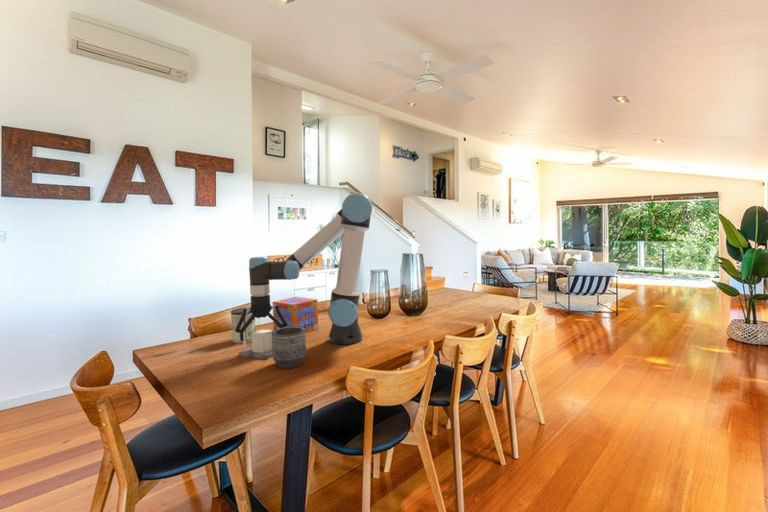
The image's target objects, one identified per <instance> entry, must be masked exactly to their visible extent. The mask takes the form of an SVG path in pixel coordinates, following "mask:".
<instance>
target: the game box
mask: <svg viewBox="0 0 768 512" xmlns="http://www.w3.org/2000/svg"><path fill="white" fill-rule="evenodd" d="M276 304H277V305H278V307H279V311H280V313H281V315H282V316H283V318H284V320H285V321H286V323H287V326H285V327H302V328H304V329H305V334H308V333H310V332H314V331H317V330H319V312H318V311H319V309H318V308H319V307H318V299H317V298H310V297H302V296H294V297H288V298H283V299H280V300H278V299H277V300H274V301H272V306H274V305H276ZM272 316H273V317H274V318H275V319H276V320H277V321H278V322H279V323H280V324H283V323H282V321H281V319H280V318H279V316H278V314H277V313H276V311H274V310H273V309H272ZM272 322H273V331H274V330H276V329H277V328H278V327H279V326H278V325H277V324H276V323H275V322H274V321H273V320H272Z"/></svg>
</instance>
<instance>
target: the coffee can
mask: <svg viewBox="0 0 768 512" xmlns="http://www.w3.org/2000/svg"><path fill="white" fill-rule="evenodd" d="M243 308H244V307H240V308H235V309H232V310H230V314H231V315H230V316H231V317H230V318H231V333H232V342H233V343H235V342H236V344H243V341H241V340H240V333H238V332H235V328H236V326H237V324H238V322H239V320H240V317H241V315H242V313H243ZM251 315H252V313H251V312H250V311H249V312H248V313H247V314H246V316H245V318H244V320H243V322H242V325H241V327H240V329H241V328H242V327H243V325H244V324H245V323H246V322H247V320H248V319H249V318H250V316H251ZM255 331H256V317H255V318H254V320H253V321H252V322H251V323H250V324H249V326H248V327H247V328H246V330H245V331H244V332H245V336H246V343H250V342H251V333H252V332H255Z"/></svg>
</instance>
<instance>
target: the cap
mask: <svg viewBox="0 0 768 512" xmlns="http://www.w3.org/2000/svg"><path fill="white" fill-rule="evenodd" d="M272 331H273V330H271V329H259V330H255V332H252V333H251V341H250V342H251V347H252V351H253V352H257V353H258V352H259V353H261V352H267V351H271V350H272Z"/></svg>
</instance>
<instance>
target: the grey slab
mask: <svg viewBox="0 0 768 512" xmlns="http://www.w3.org/2000/svg"><path fill="white" fill-rule="evenodd" d="M238 356H239V357H247V358H255V359H263V360H269V359H270V358H273V355H272V350H271V351H267V352H261V353H259V352H258V353H257V352H253V351H252V346H249V347H248V348H247V347H246V349H243V350H241V351H239V352H238Z"/></svg>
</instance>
